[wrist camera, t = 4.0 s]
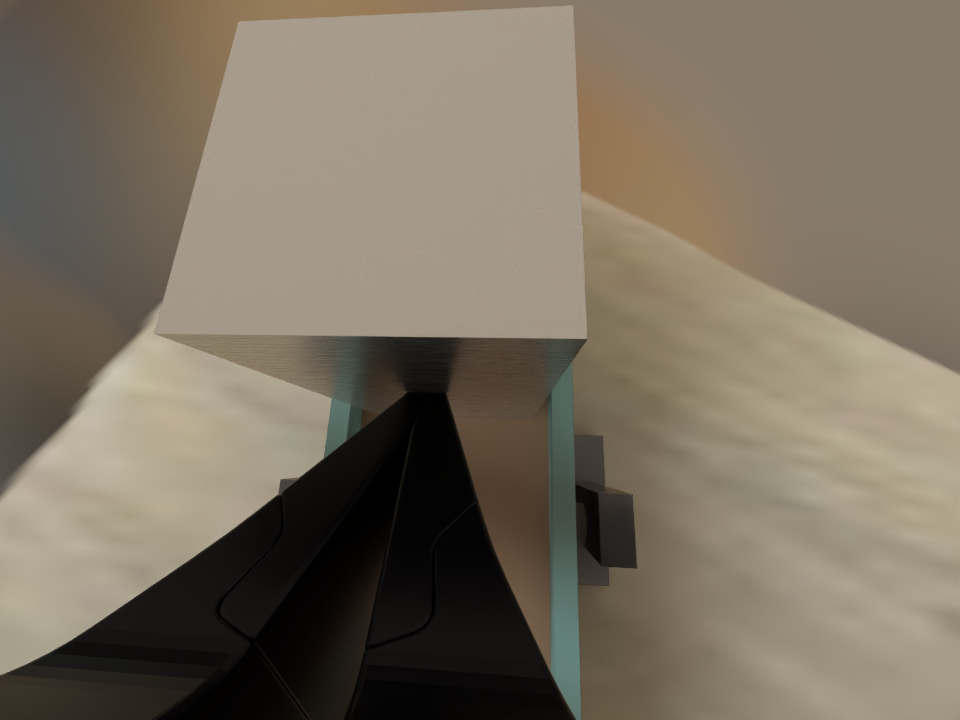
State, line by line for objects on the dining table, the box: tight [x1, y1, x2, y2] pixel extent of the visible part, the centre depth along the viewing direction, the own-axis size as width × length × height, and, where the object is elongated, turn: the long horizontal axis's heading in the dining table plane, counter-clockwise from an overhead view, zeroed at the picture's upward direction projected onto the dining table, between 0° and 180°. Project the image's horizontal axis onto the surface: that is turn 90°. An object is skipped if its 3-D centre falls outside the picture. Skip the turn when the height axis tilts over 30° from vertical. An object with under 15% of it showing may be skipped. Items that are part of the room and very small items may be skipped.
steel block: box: [154, 6, 587, 419], centre depth 9 cm, size 5×5×8 cm
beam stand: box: [278, 435, 637, 586], centre depth 14 cm, size 6×12×6 cm, turn 88°
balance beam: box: [324, 362, 587, 720], centre depth 12 cm, size 26×8×5 cm, turn 178°
